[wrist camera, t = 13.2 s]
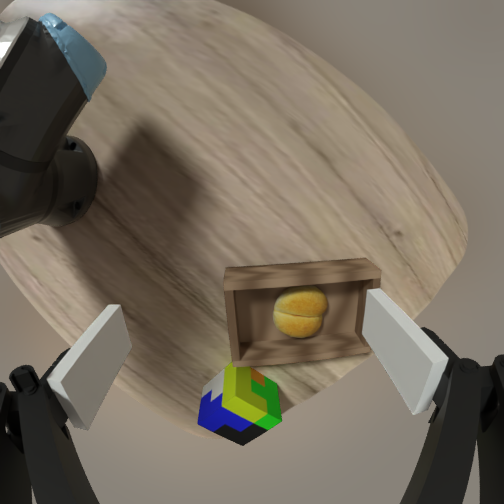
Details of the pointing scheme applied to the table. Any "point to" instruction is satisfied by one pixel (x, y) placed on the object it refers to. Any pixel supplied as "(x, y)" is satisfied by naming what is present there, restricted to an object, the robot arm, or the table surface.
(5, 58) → the robot arm
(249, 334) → the wooden box
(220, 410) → the puzzle toy
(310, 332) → the bread roll
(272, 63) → the table surface
